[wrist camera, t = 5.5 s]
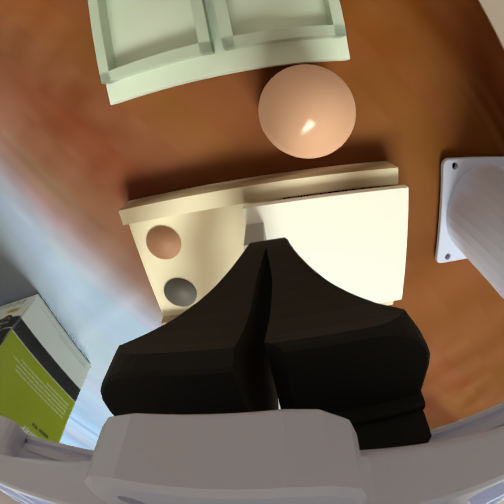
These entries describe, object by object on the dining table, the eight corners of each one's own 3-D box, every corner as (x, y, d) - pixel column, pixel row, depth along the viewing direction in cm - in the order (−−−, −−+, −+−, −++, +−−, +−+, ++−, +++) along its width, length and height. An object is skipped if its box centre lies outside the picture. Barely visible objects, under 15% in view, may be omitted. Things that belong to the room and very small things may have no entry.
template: (387, 160, 18) (397, 167, 17) (385, 290, 23) (392, 304, 21) (128, 200, 20) (118, 210, 19) (170, 317, 25) (165, 332, 23)
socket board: (316, -63, 11) (322, -77, 9) (345, 60, 16) (355, 57, 14) (97, -14, 13) (81, -22, 11) (117, 103, 17) (101, 106, 15)
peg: (322, 69, 16) (349, 61, 11) (331, 134, 18) (360, 153, 13) (253, 77, 16) (250, 71, 11) (265, 142, 18) (266, 164, 13)
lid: (405, 184, 17) (427, 202, 14) (399, 295, 21) (414, 322, 18) (243, 205, 18) (239, 227, 15) (264, 315, 22) (264, 346, 19)
